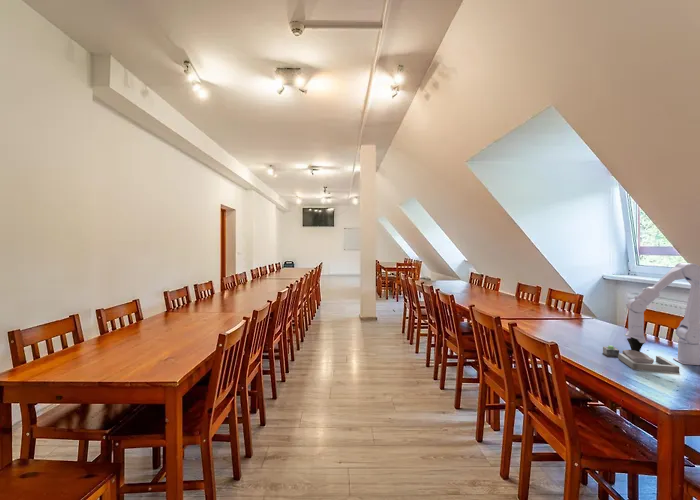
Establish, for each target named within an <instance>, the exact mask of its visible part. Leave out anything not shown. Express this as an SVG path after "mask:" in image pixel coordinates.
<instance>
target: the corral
mask: <svg viewBox="0 0 700 500" xmlns="http://www.w3.org/2000/svg"><path fill="white" fill-rule="evenodd" d="M617 359H618V360H620V362H622V363H624V364H625V365H627V366H628V367H630V369H632V370H637V371H646V372H647V371H648V372H661V373H673V374H674V373H675V374H680V366H678V365H676V364H675V363H673V362H671V361H669V360H668V359H666V358H664V357H663V356H661V355H655V362H657V363H653V364H646V363H636V362H634V361H633V360H631V359H630V358H628V357H627V356H625V355H624V354H622V352H621V353H620V352H619V353H618V357H617Z"/></svg>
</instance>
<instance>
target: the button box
mask: <svg viewBox="0 0 700 500" xmlns="http://www.w3.org/2000/svg"><path fill="white" fill-rule="evenodd" d="M602 353H603V354H604V355H605V356H607V357H617V358H618V353H620V349H618V348H616V347H614V349H608V346H602Z"/></svg>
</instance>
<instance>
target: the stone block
mask: <svg viewBox="0 0 700 500" xmlns="http://www.w3.org/2000/svg"><path fill="white" fill-rule="evenodd" d="M621 353H622V354H624V355H625V356H627V357H628V358H630V359H631V360H633V361H634V362H636V363H646V364H654V362H655V361H654V359H653V357H652V358H651V357H650V356H649V355H648V354H646V353H644V352H641V351H640V352H639V351H635V350H631V349H624V350H622V351H621Z"/></svg>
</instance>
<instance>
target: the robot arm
mask: <svg viewBox="0 0 700 500" xmlns="http://www.w3.org/2000/svg"><path fill="white" fill-rule="evenodd" d="M677 280H686V282H687V283H689V284H690V289H689V293H688V299H687V303H686V308H685V313H684V318H683V319H682V320H681V321H680V322H679V325H678V327H677V328H676V329H675V334H676V336H677V337H678V340H677V357H673V360H675V361H676V362H678V363H680V364H682V365H688V366H689V365H690V366H700V265H699V264H697V263H694V262H693V263H689V262H683V261H682V262H678V263H677V264H676V265H675V266H673V267H672V268H670V269H669V270H668V272H666V273H665V274H664V275H663V276H662V277H661V278H660V279H659V280H658V281H657V282H656V283H655V284H653V285H652V286H647V287H646V288H645V287H643V288H642V289H641V291H640V293H638V294H637V295H633V298H631V299H629V300H628V301H627V303H626V304H625V305H626V308H627V309H628V317H627V321H628V322H627V325H628V327H627V331H626V333H625V334H624V336H625V337H629V338H626V341H628V345H629V347H630V350H635V351H639V352H641V350H642V347H643V346H644V345H645V344H646V343H647V342H646V338H645V330H644V329H645V325H644V324H645V314H644V313H645V312H646V310H647V307H648V306H649V305H651V304H652V303H653V302H654V301H656V300H657V298H659V297H660V292H661V291H662V290H664V289H665V288H666V287H668V286H669V285H671V284H672V283H673V282H675V281H677Z"/></svg>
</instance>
